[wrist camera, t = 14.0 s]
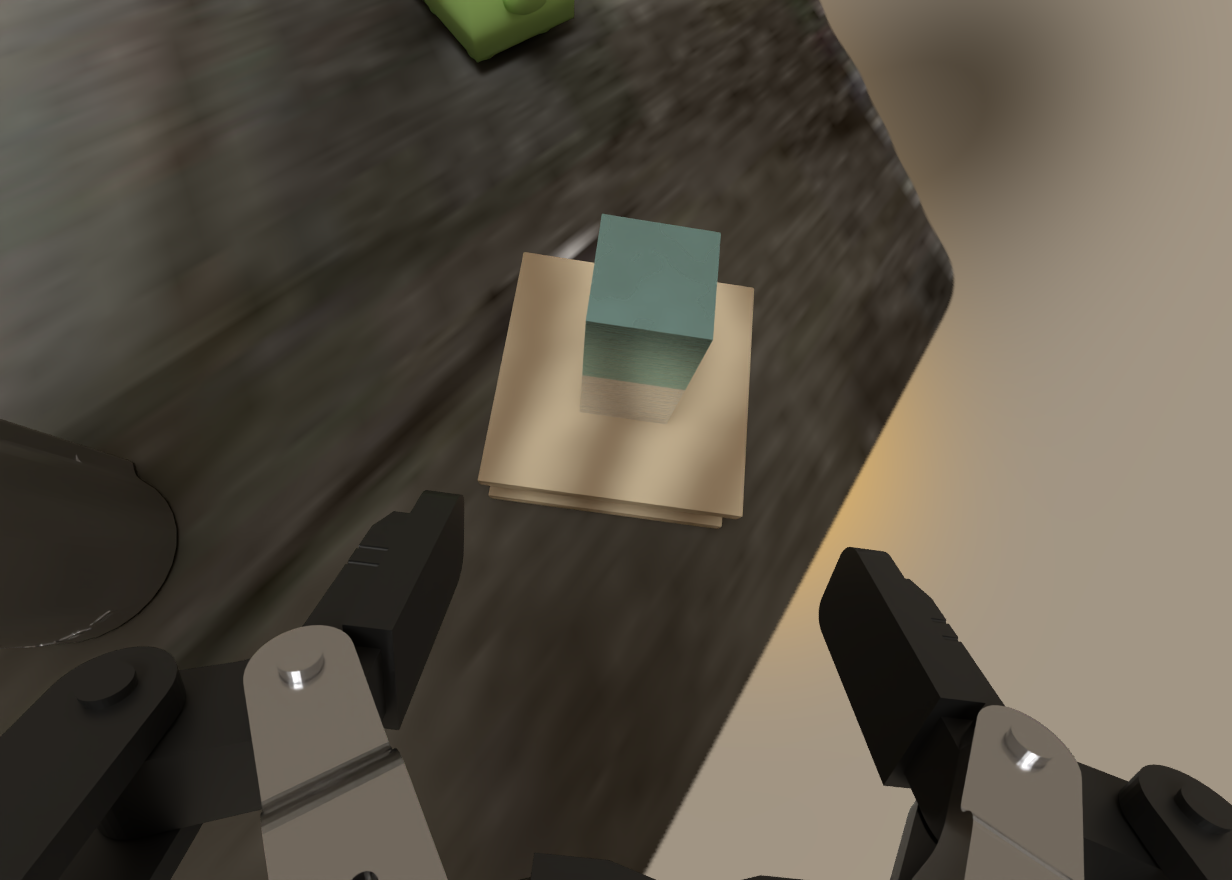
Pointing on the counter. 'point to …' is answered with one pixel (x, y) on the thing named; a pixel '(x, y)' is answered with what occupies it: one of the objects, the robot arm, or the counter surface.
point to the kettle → (498, 21)
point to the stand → (610, 446)
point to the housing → (647, 317)
